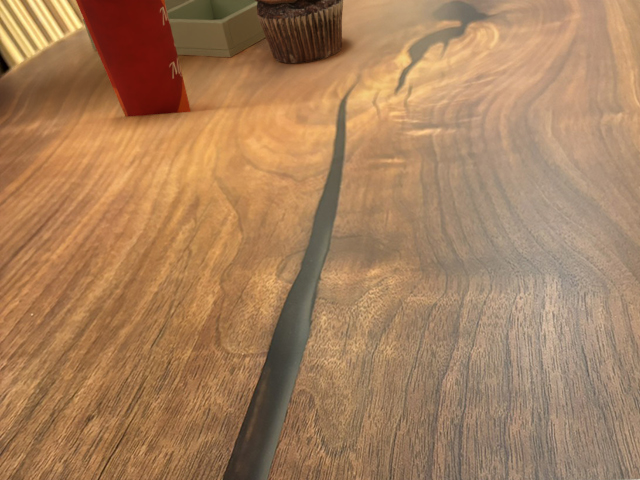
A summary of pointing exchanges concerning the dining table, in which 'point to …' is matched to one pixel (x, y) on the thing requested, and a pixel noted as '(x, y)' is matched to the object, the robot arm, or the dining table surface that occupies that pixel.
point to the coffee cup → (137, 54)
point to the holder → (212, 26)
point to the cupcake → (301, 28)
